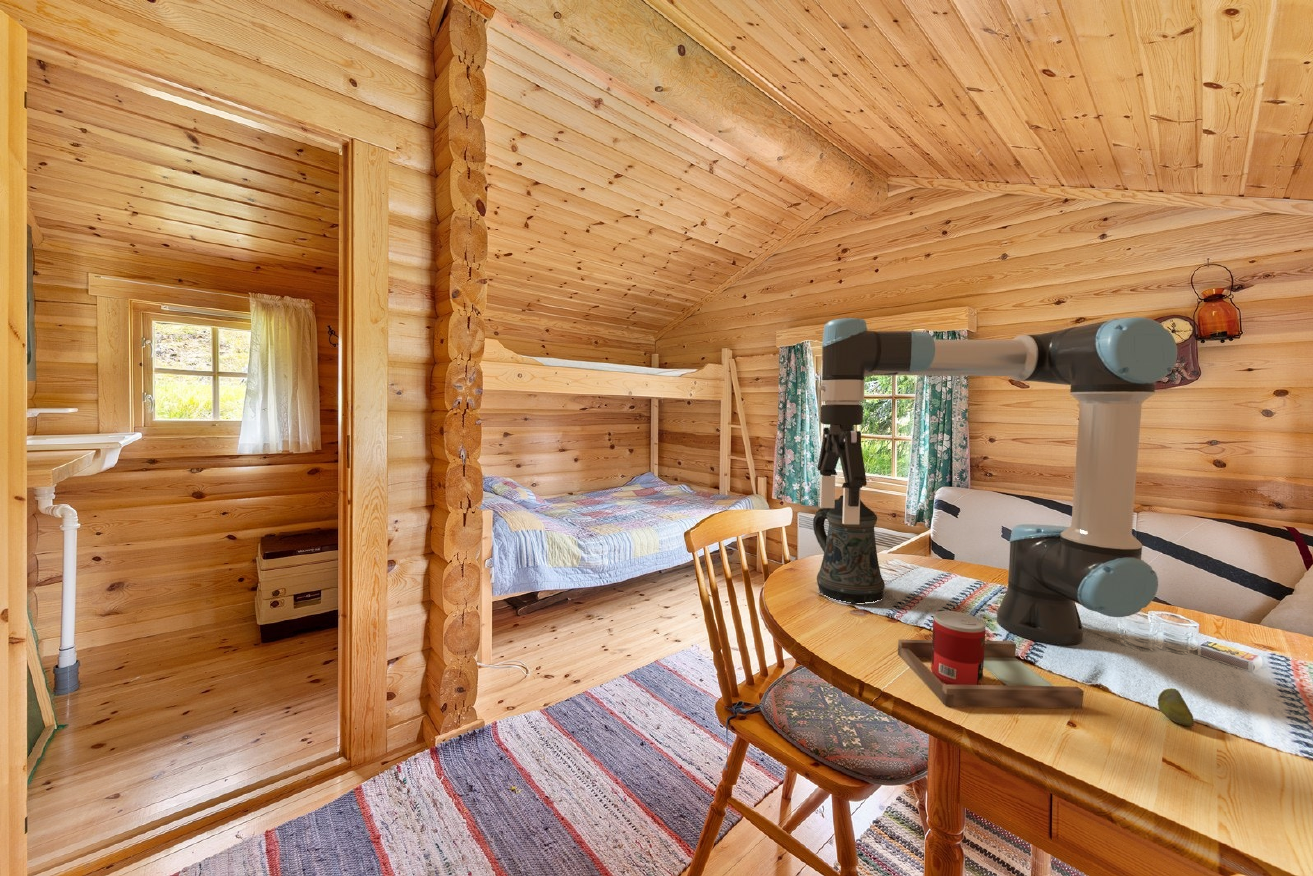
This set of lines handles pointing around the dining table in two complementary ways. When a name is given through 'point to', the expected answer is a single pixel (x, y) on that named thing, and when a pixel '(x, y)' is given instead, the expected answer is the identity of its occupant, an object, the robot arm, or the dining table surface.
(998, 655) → the bay
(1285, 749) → the dining table surface
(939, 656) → the canned food
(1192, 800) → the dining table surface
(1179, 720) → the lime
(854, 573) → the beer stein
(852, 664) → the dining table surface
